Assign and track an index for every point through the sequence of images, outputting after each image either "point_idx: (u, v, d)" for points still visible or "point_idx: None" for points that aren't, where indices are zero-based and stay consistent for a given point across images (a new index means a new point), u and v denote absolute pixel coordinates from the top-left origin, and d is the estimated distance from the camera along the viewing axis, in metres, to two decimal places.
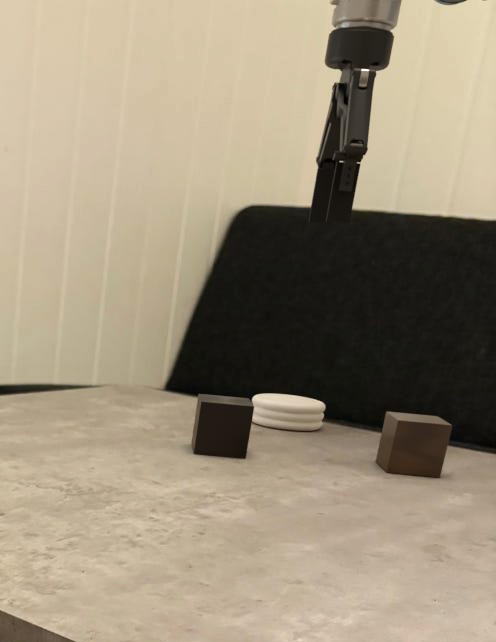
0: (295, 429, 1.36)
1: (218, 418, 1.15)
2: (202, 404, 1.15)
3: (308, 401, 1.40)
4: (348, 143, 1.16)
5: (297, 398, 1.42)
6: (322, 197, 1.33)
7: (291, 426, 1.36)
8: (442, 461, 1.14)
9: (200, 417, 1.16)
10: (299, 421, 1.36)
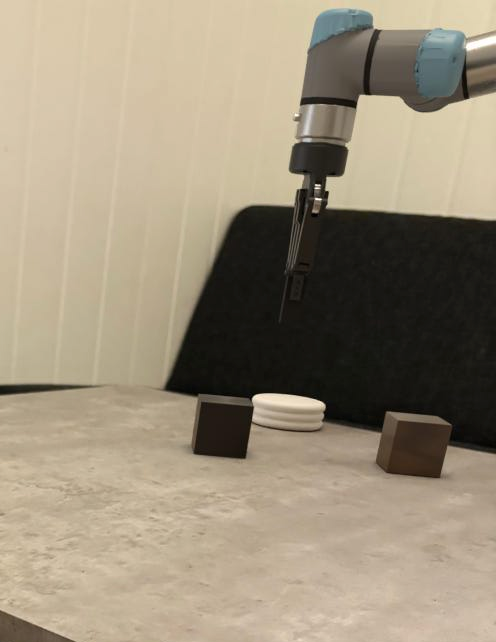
0: (295, 429, 1.36)
1: (218, 418, 1.15)
2: (202, 404, 1.15)
3: (308, 401, 1.40)
4: (296, 266, 1.40)
5: (297, 398, 1.42)
6: None
7: (291, 426, 1.36)
8: (442, 461, 1.14)
9: (200, 417, 1.16)
10: (299, 421, 1.36)
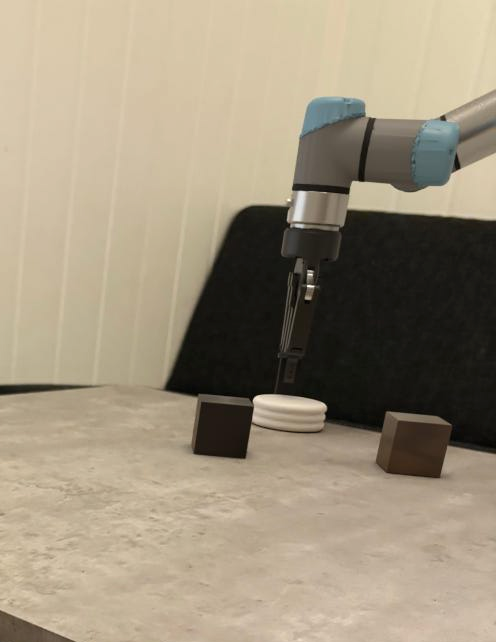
0: (297, 430, 1.36)
1: (218, 418, 1.15)
2: (202, 404, 1.15)
3: (309, 402, 1.39)
4: (289, 350, 1.38)
5: (298, 399, 1.41)
6: (285, 383, 1.43)
7: (293, 427, 1.35)
8: (442, 461, 1.14)
9: (200, 417, 1.16)
10: (301, 422, 1.35)
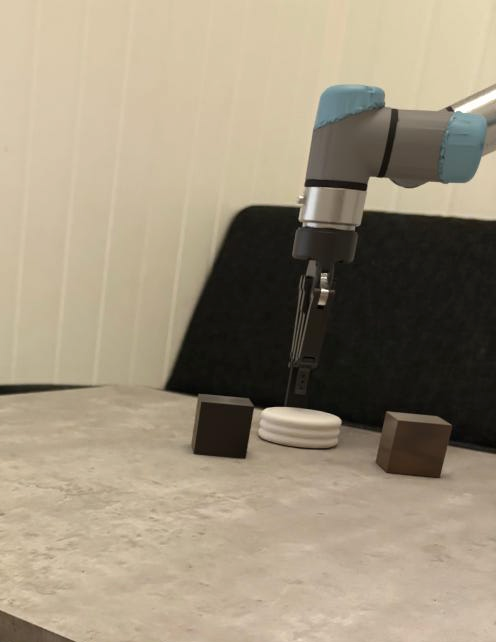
0: (309, 447, 1.25)
1: (218, 418, 1.15)
2: (202, 404, 1.15)
3: (322, 416, 1.29)
4: (301, 359, 1.28)
5: (310, 412, 1.31)
6: None
7: (305, 443, 1.25)
8: (442, 461, 1.14)
9: (200, 417, 1.16)
10: (313, 438, 1.25)
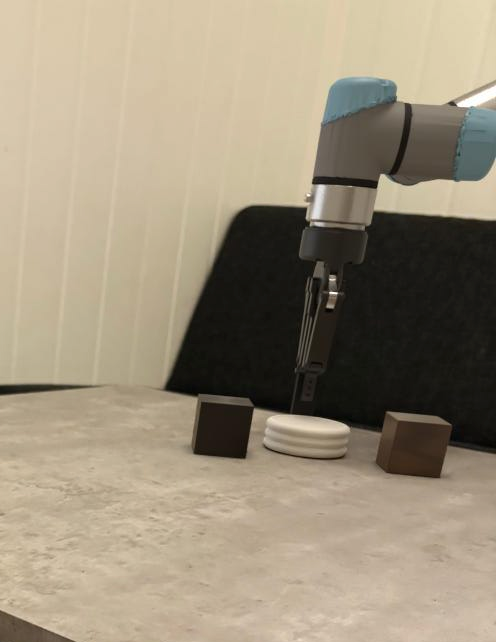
0: (316, 456, 1.20)
1: (218, 418, 1.15)
2: (202, 404, 1.15)
3: (330, 424, 1.23)
4: (308, 365, 1.22)
5: (317, 420, 1.25)
6: None
7: (312, 453, 1.19)
8: (442, 461, 1.14)
9: (200, 417, 1.16)
10: (321, 447, 1.19)
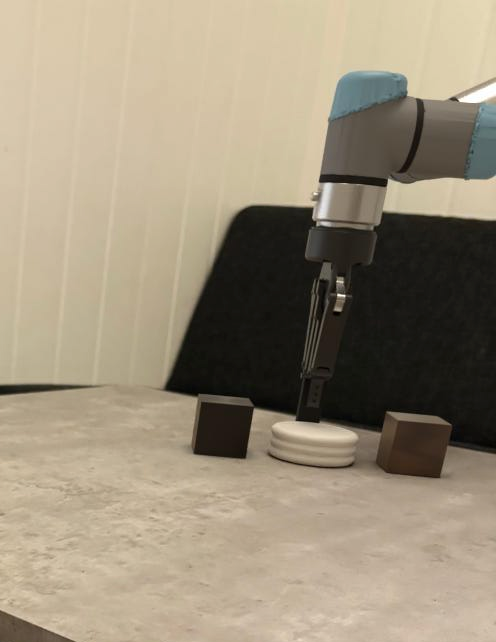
0: (324, 465, 1.15)
1: (218, 418, 1.15)
2: (202, 404, 1.15)
3: (337, 431, 1.19)
4: (314, 370, 1.18)
5: (324, 427, 1.21)
6: None
7: (319, 462, 1.15)
8: (442, 461, 1.14)
9: (200, 417, 1.16)
10: (328, 456, 1.15)
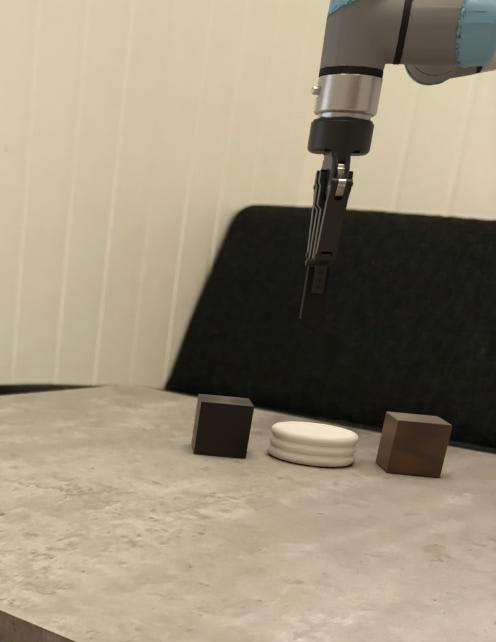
0: (324, 465, 1.15)
1: (218, 418, 1.15)
2: (202, 404, 1.15)
3: (337, 431, 1.19)
4: (318, 255, 1.26)
5: (324, 427, 1.21)
6: None
7: (319, 462, 1.15)
8: (442, 461, 1.14)
9: (200, 417, 1.16)
10: (328, 456, 1.15)
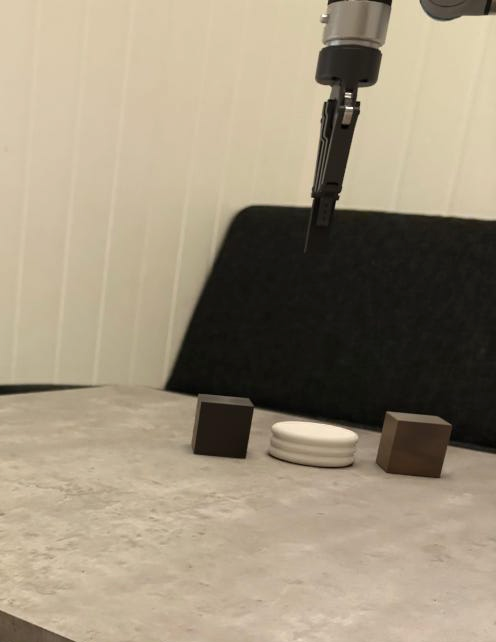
0: (324, 465, 1.15)
1: (218, 418, 1.15)
2: (202, 404, 1.15)
3: (337, 431, 1.19)
4: (324, 186, 1.26)
5: (324, 427, 1.21)
6: None
7: (319, 462, 1.15)
8: (442, 461, 1.14)
9: (200, 417, 1.16)
10: (328, 456, 1.15)
